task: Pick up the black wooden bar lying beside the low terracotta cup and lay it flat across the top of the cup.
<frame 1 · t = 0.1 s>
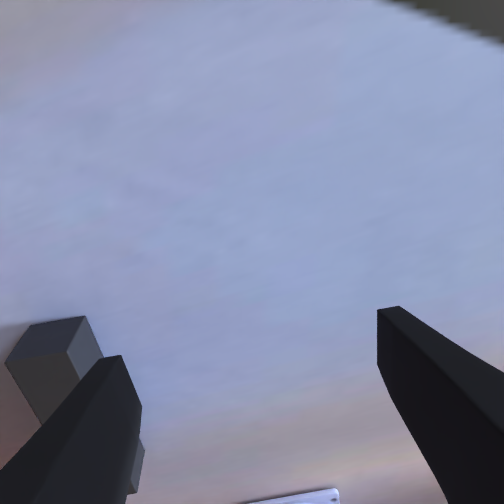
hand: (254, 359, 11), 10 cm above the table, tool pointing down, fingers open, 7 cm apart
black bar: (94, 394, 24), on the table
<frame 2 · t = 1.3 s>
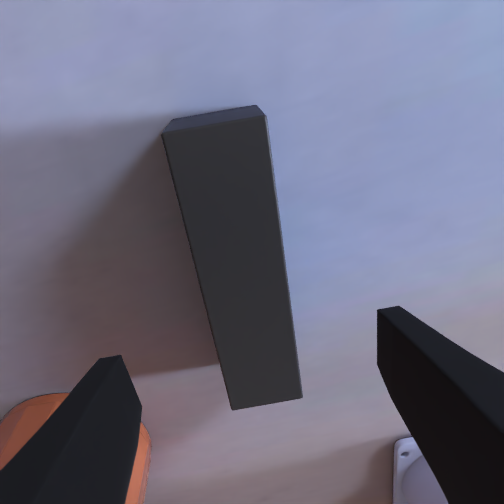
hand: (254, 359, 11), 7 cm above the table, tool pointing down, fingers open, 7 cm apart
black bar: (241, 254, 17), on the table
cup: (76, 445, 21), on the table
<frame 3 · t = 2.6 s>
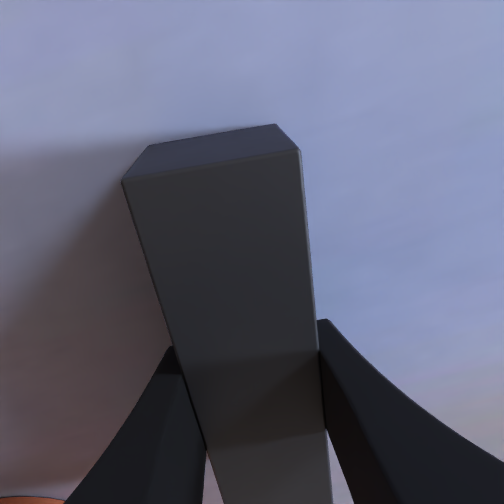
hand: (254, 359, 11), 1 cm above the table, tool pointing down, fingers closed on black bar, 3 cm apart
black bar: (249, 328, 12), on the table, touching gripper
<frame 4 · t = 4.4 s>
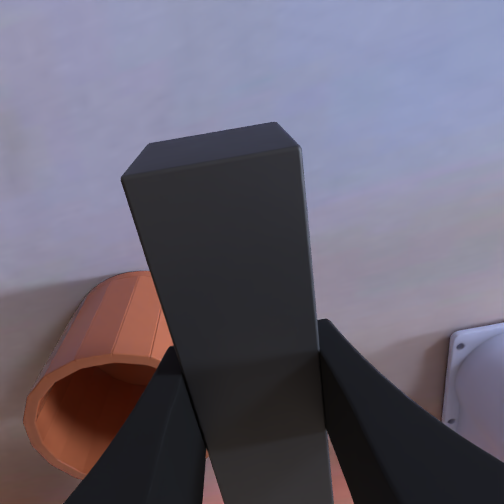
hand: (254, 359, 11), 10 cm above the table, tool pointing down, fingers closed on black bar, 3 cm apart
black bar: (249, 326, 12), point 8 cm above the table, touching gripper
cup: (149, 331, 22), on the table
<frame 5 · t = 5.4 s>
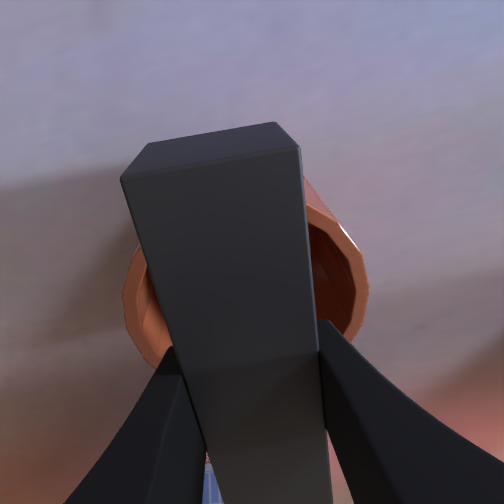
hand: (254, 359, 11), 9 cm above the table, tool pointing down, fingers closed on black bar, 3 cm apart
black bar: (249, 326, 12), point 7 cm above the table, touching gripper
cup: (238, 232, 19), on the table
ramen bowl: (206, 499, 28), on the table
when the fingers open (8 cm above the table, at t = 6.0 s): black bar stays where it is, resting on cup.
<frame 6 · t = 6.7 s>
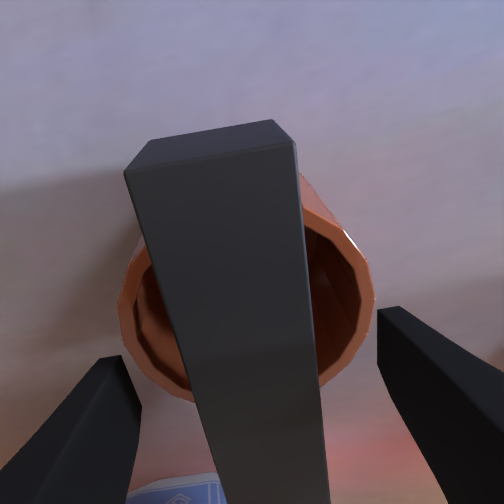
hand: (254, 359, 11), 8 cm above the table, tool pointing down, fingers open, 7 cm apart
black bar: (248, 319, 12), point 6 cm above the table, touching cup
cup: (238, 237, 18), on the table, touching black bar
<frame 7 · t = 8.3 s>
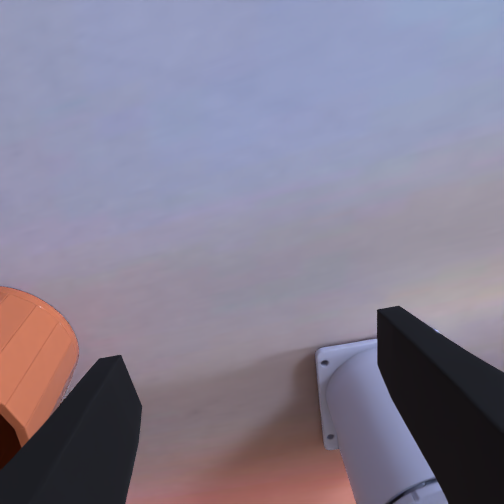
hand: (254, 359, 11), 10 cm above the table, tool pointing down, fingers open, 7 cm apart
cup: (6, 344, 22), on the table, touching black bar
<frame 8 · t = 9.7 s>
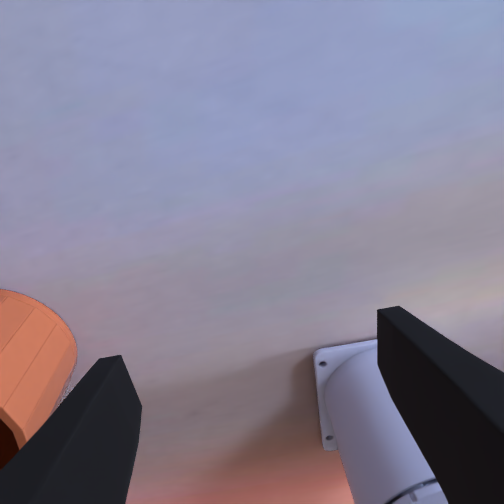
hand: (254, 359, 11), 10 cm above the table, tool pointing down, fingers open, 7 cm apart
cup: (4, 347, 22), on the table, touching black bar
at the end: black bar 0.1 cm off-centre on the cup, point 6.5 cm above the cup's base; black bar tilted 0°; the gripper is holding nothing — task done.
